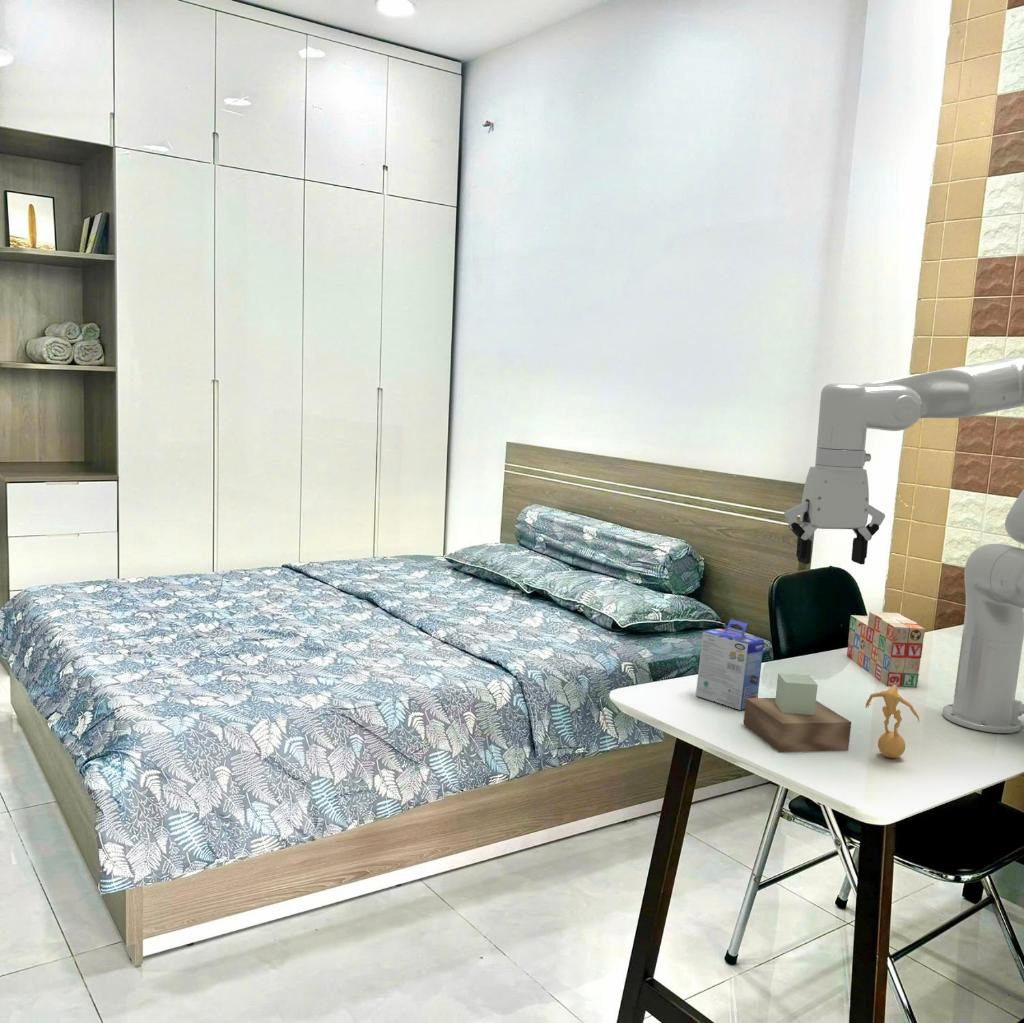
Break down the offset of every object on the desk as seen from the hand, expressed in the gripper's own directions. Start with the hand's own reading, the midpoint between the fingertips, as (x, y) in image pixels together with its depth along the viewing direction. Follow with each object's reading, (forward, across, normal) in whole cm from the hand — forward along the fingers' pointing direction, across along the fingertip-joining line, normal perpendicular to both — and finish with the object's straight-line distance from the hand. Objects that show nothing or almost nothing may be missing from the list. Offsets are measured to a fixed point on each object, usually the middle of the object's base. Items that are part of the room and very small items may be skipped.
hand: (830, 562), depth 161 cm
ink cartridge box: (+28, +12, -11) cm, 32 cm away
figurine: (+28, -4, +16) cm, 32 cm away
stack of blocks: (+29, -30, -31) cm, 52 cm away
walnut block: (+28, +8, +7) cm, 30 cm away
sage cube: (+23, +8, +6) cm, 25 cm away
